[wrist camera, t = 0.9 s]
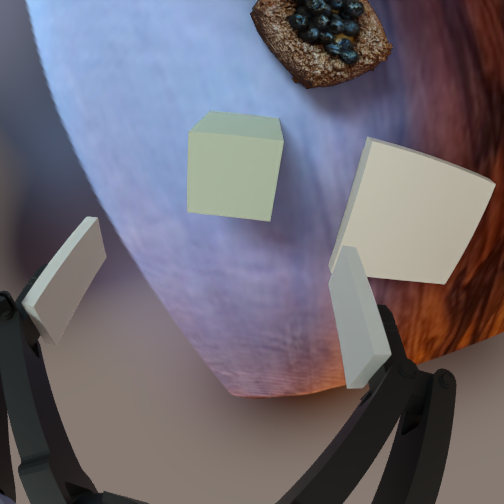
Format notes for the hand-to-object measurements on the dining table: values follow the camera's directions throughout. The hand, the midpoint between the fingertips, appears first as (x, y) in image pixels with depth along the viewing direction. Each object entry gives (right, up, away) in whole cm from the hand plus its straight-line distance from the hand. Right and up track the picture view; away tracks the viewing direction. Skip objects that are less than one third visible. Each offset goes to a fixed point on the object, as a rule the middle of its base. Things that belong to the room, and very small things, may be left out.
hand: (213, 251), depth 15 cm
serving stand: (+21, +5, +17) cm, 28 cm away
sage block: (+1, +11, +14) cm, 18 cm away
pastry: (+8, +22, +6) cm, 24 cm away
